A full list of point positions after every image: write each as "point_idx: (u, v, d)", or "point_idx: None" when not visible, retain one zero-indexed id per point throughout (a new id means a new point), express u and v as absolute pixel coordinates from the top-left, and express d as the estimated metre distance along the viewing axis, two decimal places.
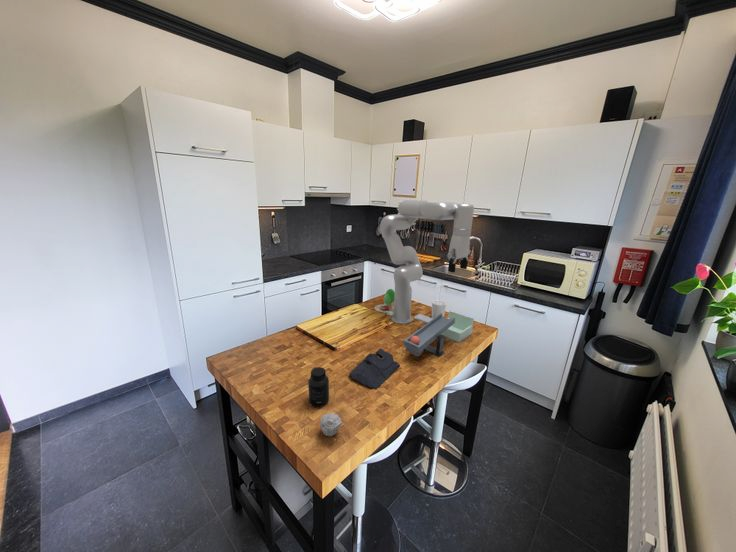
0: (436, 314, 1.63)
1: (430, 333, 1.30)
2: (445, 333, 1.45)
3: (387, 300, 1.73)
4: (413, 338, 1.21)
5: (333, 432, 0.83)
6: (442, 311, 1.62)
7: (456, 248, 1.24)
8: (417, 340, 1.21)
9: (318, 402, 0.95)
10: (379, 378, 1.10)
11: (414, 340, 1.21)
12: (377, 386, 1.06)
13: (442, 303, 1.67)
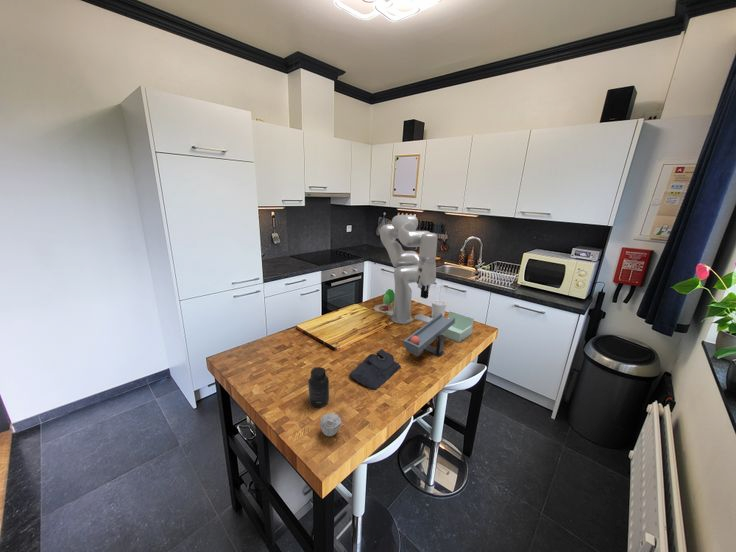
0: (436, 314, 1.63)
1: (430, 333, 1.30)
2: (445, 333, 1.45)
3: (386, 300, 1.73)
4: (413, 338, 1.21)
5: (333, 432, 0.83)
6: (442, 311, 1.62)
7: None
8: (417, 340, 1.21)
9: (318, 402, 0.95)
10: (379, 379, 1.10)
11: (414, 340, 1.21)
12: (377, 387, 1.06)
13: (442, 303, 1.67)
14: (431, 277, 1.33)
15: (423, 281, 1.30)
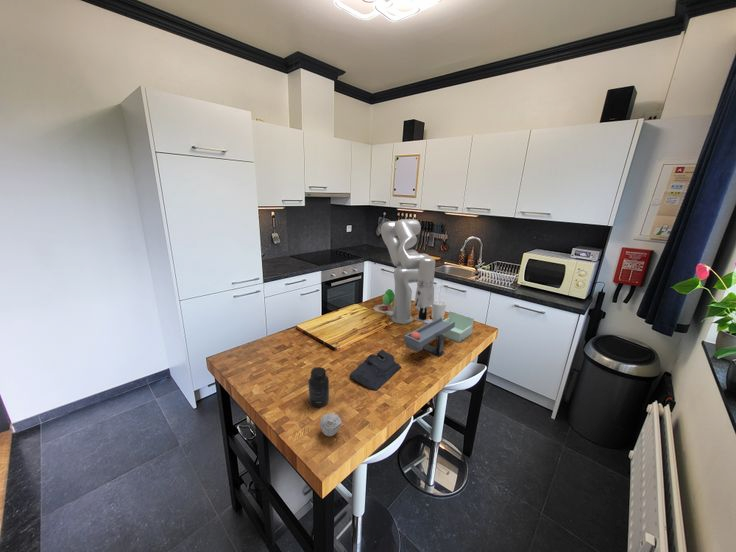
0: (436, 314, 1.63)
1: (430, 333, 1.30)
2: (445, 333, 1.45)
3: (386, 300, 1.73)
4: (414, 333, 1.21)
5: (333, 432, 0.83)
6: (442, 311, 1.62)
7: None
8: (418, 335, 1.20)
9: (318, 402, 0.95)
10: (380, 379, 1.09)
11: (415, 335, 1.20)
12: (377, 387, 1.06)
13: (442, 303, 1.67)
14: (429, 299, 1.36)
15: (421, 304, 1.33)
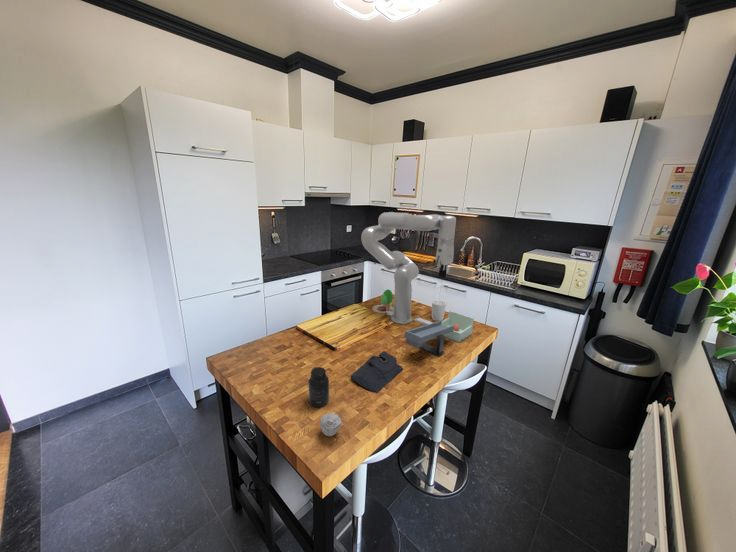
0: (436, 314, 1.63)
1: (430, 332, 1.30)
2: None
3: (384, 300, 1.72)
4: (455, 325, 1.49)
5: (333, 432, 0.83)
6: (442, 311, 1.62)
7: None
8: (458, 327, 1.48)
9: (318, 402, 0.95)
10: (381, 381, 1.08)
11: (455, 326, 1.48)
12: (378, 389, 1.05)
13: (442, 303, 1.67)
14: (449, 257, 1.42)
15: (442, 261, 1.39)
